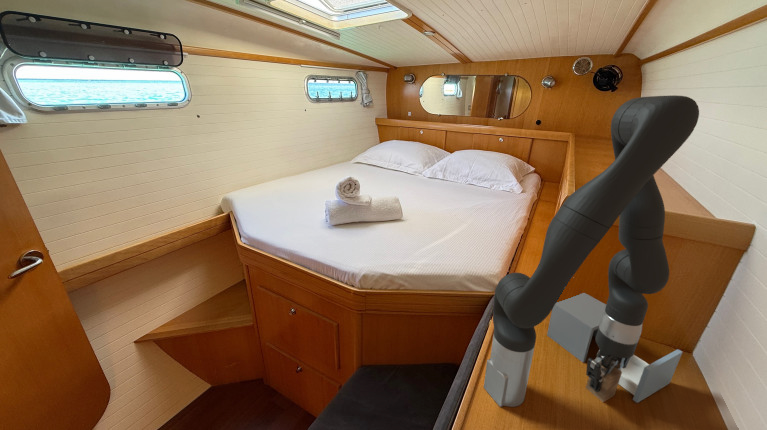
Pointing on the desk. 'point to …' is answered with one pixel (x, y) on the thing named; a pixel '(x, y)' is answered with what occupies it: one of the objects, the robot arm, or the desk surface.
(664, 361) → the drawer
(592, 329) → the cabinet
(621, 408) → the desk surface
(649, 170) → the robot arm
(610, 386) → the block
